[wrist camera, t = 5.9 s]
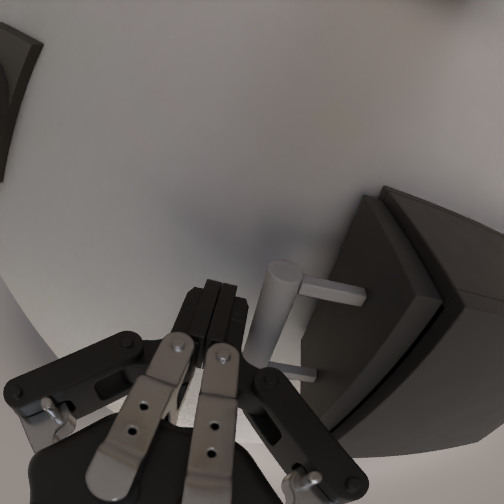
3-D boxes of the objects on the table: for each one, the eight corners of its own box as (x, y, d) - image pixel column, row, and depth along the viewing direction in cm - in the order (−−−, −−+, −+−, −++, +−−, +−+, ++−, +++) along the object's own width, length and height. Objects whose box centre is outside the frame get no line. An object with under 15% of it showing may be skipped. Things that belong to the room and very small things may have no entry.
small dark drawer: (243, 328, 20) (224, 429, 14) (284, 172, 14) (279, 265, 7) (441, 358, 20) (463, 433, 14) (515, 252, 14) (571, 327, 8)
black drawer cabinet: (313, 338, 21) (314, 457, 13) (383, 185, 14) (466, 306, 6) (451, 355, 22) (477, 441, 14) (527, 247, 15) (591, 332, 7)
